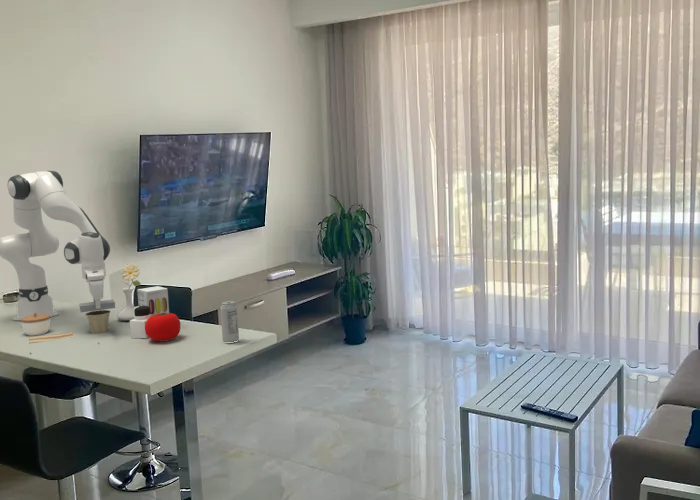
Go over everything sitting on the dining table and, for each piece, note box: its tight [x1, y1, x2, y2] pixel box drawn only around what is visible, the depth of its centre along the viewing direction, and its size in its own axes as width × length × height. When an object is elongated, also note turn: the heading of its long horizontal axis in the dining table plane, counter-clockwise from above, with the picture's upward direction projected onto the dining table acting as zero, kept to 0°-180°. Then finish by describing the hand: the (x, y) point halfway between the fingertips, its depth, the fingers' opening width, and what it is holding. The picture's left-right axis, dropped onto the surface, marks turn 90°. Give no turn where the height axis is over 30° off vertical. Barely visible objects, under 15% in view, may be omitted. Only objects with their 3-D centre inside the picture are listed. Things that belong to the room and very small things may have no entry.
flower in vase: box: [116, 262, 142, 321], centre depth 291 cm, size 13×11×25 cm
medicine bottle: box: [129, 305, 150, 339], centre depth 262 cm, size 7×7×12 cm
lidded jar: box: [20, 313, 51, 337], centre depth 271 cm, size 11×11×9 cm
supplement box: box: [137, 285, 170, 317], centre depth 273 cm, size 10×9×17 cm
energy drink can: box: [219, 300, 240, 342], centre depth 247 cm, size 6×6×15 cm
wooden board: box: [28, 331, 74, 344], centre depth 263 cm, size 10×16×1 cm, turn 116°
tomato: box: [145, 312, 181, 342], centre depth 256 cm, size 14×13×10 cm
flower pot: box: [85, 309, 111, 334], centre depth 270 cm, size 9×9×9 cm
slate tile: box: [78, 299, 116, 313], centre depth 269 cm, size 6×13×2 cm, turn 116°
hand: (97, 306), depth 269 cm, fingers closed on slate tile, 6 cm apart
